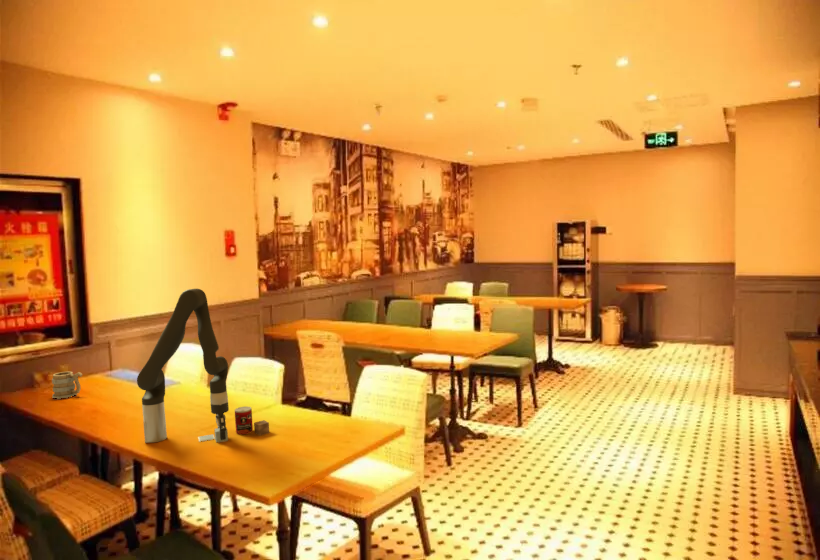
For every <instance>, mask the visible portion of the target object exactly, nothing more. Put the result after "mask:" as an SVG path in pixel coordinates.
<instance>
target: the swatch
mask: <svg viewBox="0 0 820 560" xmlns="http://www.w3.org/2000/svg"><path fill="white" fill-rule="evenodd" d="M197 439H198V442H199V443H201V441H202V442H207V440H208V441H213V439H214V440H215V434H206V435H201V436H197Z"/></svg>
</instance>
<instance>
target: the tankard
mask: <svg viewBox="0 0 820 560" xmlns="http://www.w3.org/2000/svg"><path fill="white" fill-rule="evenodd" d="M79 377H80V378H82V377H83V373H82V372H80V371H78V372H76V373H75V374H74V372H73V371H61V372H56V373H53V374H52V379H51V384H52V385H53V386H52V392H54V393H53V394H52V396H51V397H52V398H57V399H56V400H62V399H61V398H66V399H69V398H68V397H71V396H74V395H76V396H77V395H78V394H80V391H81V384H80V381H79ZM74 397H75V396H74ZM71 398H72V397H71Z"/></svg>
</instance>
